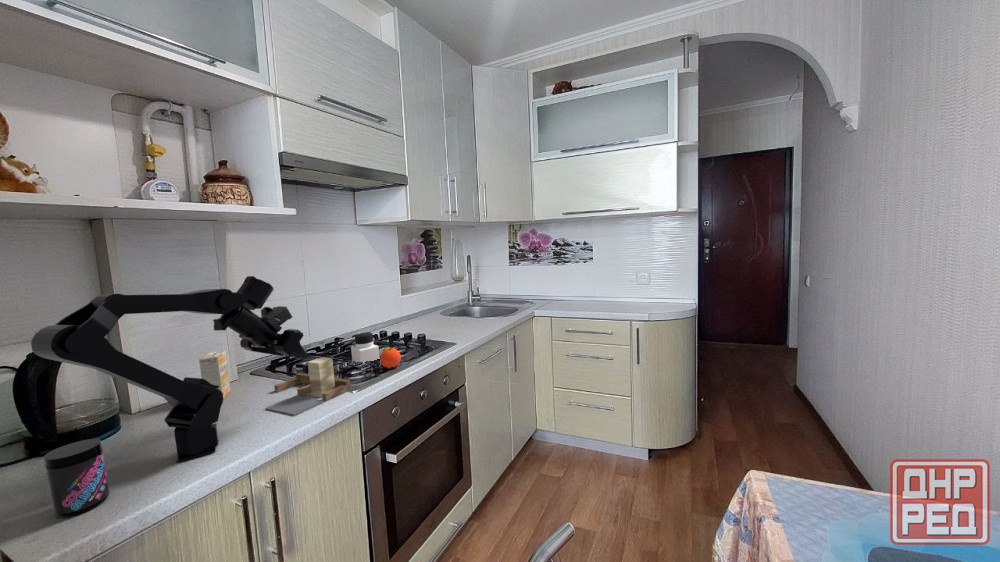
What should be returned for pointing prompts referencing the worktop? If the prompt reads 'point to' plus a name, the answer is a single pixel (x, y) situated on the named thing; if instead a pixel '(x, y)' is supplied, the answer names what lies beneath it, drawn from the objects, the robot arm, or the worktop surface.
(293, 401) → the rubber mat
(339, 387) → the lane rack
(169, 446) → the worktop surface
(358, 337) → the medicine bottle
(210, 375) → the supplement box
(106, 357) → the robot arm
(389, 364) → the clementine
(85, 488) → the supplement container
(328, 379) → the beech block
